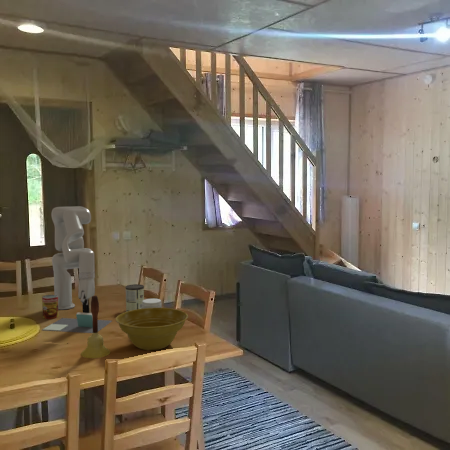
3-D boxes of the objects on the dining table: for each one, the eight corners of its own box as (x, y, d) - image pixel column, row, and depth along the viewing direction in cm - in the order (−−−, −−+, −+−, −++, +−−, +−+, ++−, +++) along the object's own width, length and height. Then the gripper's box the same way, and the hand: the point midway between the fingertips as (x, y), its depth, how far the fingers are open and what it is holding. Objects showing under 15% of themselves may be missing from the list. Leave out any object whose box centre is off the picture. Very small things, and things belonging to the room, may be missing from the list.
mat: (41, 331, 249) (41, 330, 249) (62, 319, 271) (62, 318, 271) (95, 334, 245) (95, 333, 245) (112, 322, 267) (112, 320, 267)
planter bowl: (101, 352, 222) (100, 321, 220) (140, 331, 251) (139, 304, 250) (167, 362, 210) (167, 330, 209) (199, 339, 240) (199, 311, 238)
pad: (42, 330, 250) (42, 329, 250) (51, 324, 259) (51, 324, 258) (59, 331, 248) (59, 330, 248) (68, 325, 257) (68, 324, 257)
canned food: (43, 321, 268) (42, 298, 267) (42, 317, 275) (41, 295, 274) (58, 319, 271) (58, 297, 270) (57, 315, 278) (57, 294, 277)
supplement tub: (158, 325, 261) (158, 297, 259) (164, 330, 252) (164, 301, 251) (140, 328, 256) (139, 299, 255) (145, 333, 248) (145, 303, 247)
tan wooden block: (83, 317, 256) (82, 293, 255) (85, 315, 259) (85, 291, 258) (89, 317, 255) (89, 293, 254) (92, 315, 259) (92, 292, 257)
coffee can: (128, 308, 295) (128, 284, 294) (146, 308, 294) (146, 284, 293) (123, 312, 285) (123, 287, 284) (141, 313, 284) (141, 288, 283)
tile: (78, 326, 256) (76, 314, 253) (79, 324, 258) (77, 312, 255) (93, 327, 255) (91, 315, 252) (95, 325, 256) (93, 313, 254)
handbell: (77, 358, 214) (75, 299, 212) (85, 348, 226) (84, 292, 224) (106, 358, 214) (105, 299, 212) (113, 348, 226) (112, 292, 224)
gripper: (86, 272, 264) (87, 307, 266) (72, 278, 248) (73, 315, 249) (100, 272, 263) (101, 307, 264) (87, 278, 246) (88, 316, 248)
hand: (87, 311), depth 257 cm, fingers closed on tan wooden block, 3 cm apart
